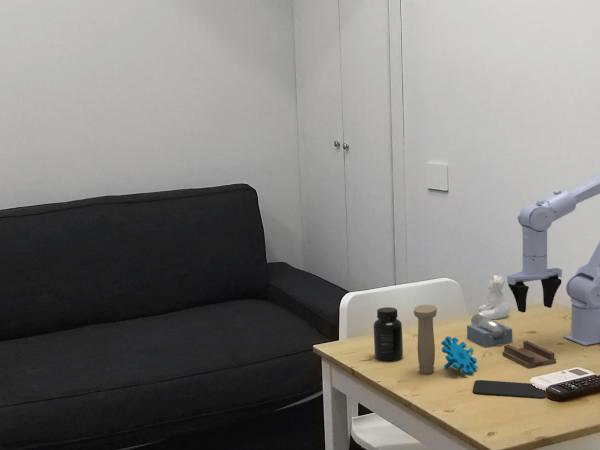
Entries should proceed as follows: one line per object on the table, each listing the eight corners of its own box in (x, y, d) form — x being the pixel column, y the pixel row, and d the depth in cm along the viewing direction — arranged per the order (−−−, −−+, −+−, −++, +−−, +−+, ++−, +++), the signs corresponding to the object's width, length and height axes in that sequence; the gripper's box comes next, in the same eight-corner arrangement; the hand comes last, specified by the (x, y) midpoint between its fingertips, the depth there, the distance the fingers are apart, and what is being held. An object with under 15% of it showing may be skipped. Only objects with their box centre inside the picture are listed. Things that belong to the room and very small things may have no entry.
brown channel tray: (529, 350, 196) (529, 340, 195) (555, 362, 187) (555, 352, 186) (502, 355, 193) (502, 345, 193) (528, 368, 184) (528, 357, 184)
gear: (462, 374, 178) (437, 337, 182) (445, 389, 181) (421, 352, 185) (489, 367, 186) (464, 331, 190) (472, 381, 189) (448, 345, 193)
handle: (413, 376, 183) (411, 312, 180) (418, 366, 189) (417, 304, 186) (434, 377, 181) (433, 313, 179) (439, 367, 187) (438, 305, 185)
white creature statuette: (478, 311, 231) (478, 270, 229) (510, 312, 228) (509, 270, 226) (477, 321, 222) (476, 278, 220) (509, 322, 219) (509, 279, 217)
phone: (546, 397, 166) (471, 392, 171) (546, 401, 166) (471, 395, 171) (546, 384, 173) (475, 379, 178) (546, 388, 173) (475, 383, 178)
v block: (493, 333, 210) (493, 320, 209) (512, 342, 202) (512, 328, 202) (467, 338, 207) (467, 325, 206) (485, 347, 200) (484, 333, 199)
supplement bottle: (408, 356, 196) (407, 308, 194) (391, 364, 191) (390, 315, 189) (385, 351, 201) (384, 304, 199) (368, 358, 196) (367, 310, 194)
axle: (471, 327, 209) (471, 314, 208) (482, 326, 210) (483, 313, 209) (493, 339, 200) (494, 326, 199) (505, 337, 201) (506, 324, 200)
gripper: (549, 248, 201) (548, 301, 203) (499, 255, 196) (500, 309, 198) (567, 253, 195) (567, 307, 197) (517, 260, 190) (517, 316, 192)
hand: (534, 309), depth 197 cm, fingers open, 7 cm apart
